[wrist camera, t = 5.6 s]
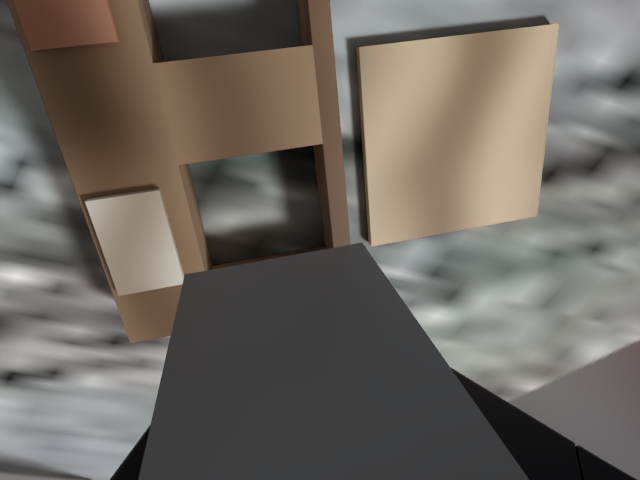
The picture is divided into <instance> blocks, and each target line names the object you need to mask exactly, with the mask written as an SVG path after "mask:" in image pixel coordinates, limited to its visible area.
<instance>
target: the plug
mask: <svg viewBox="0 0 640 480" xmlns="http://www.w3.org/2000/svg"><path fill="white" fill-rule="evenodd" d="M138 480H529V479H528V477H527V476H526V474H525V473H524V472H523V470H522V469H521V467H520V466H519V465H518V463H517V462H516V460H515V459H514V457H513V456H512V455H511V453H510V452H509V450H508V449H507V448H506V446H505V445H504V443H503V442H502V440H501V439H500V438H499V436H498V435H497V433H496V432H495V431H494V429H493V428H492V426H491V425H490V423H489V422H488V421H487V419H486V418H485V416H484V415H483V414H482V412H481V411H480V409H479V408H478V406H477V405H476V404H475V402H474V401H473V399H472V398H471V397H470V395H469V394H468V392H467V391H466V389H465V388H464V387H463V385H462V384H461V382H460V381H459V379H458V378H457V377H456V375H455V374H454V372H453V371H452V370H451V368H450V367H449V365H448V364H447V362H446V361H445V360H444V358H443V357H442V355H441V354H440V353H439V351H438V350H437V348H436V347H435V345H434V344H433V343H432V341H431V340H430V338H429V337H428V336H427V334H426V333H425V331H424V330H423V328H422V327H421V326H420V324H419V323H418V321H417V320H416V319H415V317H414V316H413V314H412V313H411V311H410V310H409V309H408V307H407V306H406V304H405V303H404V302H403V300H402V299H401V297H400V296H399V294H398V293H397V292H396V290H395V289H394V287H393V286H392V284H391V283H390V282H389V280H388V279H387V277H386V276H385V275H384V273H383V272H382V270H381V269H380V267H379V266H378V265H377V263H376V262H375V260H374V259H373V258H372V256H371V255H370V253H369V252H368V250H367V249H366V248H365V246H364V245H363V243H357V244H352V245H346V246H341V247H335V248H329V249H324V250H318V251H313V252H307V253H302V254H296V255H290V256H285V257H279V258H274V259H268V260H263V261H257V262H251V263H246V264H240V265H235V266H229V267H224V268H218V269H212V270H207V271H201V272H196V273H190V274H185V275H184V279H183V284H182V288H181V293H180V297H179V302H178V306H177V310H176V315H175V319H174V324H173V328H172V333H171V337H170V342H169V346H168V350H167V355H166V359H165V364H164V368H163V373H162V377H161V381H160V386H159V390H158V395H157V399H156V404H155V408H154V413H153V417H152V421H151V426H150V430H149V435H148V439H147V444H146V448H145V452H144V457H143V461H142V466H141V470H140V475H139V479H138Z"/></svg>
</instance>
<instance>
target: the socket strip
mask: <svg viewBox="0 0 640 480" xmlns="http://www.w3.org/2000/svg"><path fill="white" fill-rule="evenodd" d="M7 3H8V6H9V9H10V11H11V14H12V17H13V20H14V22H15V25H16V28H17V31H18V33H19V36H20V39H21V42H22V45H23V47H24V50H25V53H26V56H27V58H28V61H29V64H30V67H31V69H32V72H33V75H34V78H35V80H36V83H37V86H38V89H39V92H40V94H41V97H42V100H43V103H44V105H45V108H46V111H47V114H48V116H49V119H50V122H51V125H52V127H53V130H54V133H55V136H56V139H57V141H58V144H59V147H60V150H61V152H62V155H63V158H64V161H65V163H66V166H67V169H68V172H69V174H70V177H71V180H72V183H73V186H74V188H75V191H76V194H77V197H78V199H79V202H80V205H81V208H82V210H83V213H84V216H85V219H86V221H87V224H88V227H89V230H90V233H91V235H92V238H93V241H94V244H95V246H96V249H97V252H98V255H99V257H100V260H101V263H102V266H103V268H104V271H105V274H106V277H107V280H108V282H109V285H110V288H111V291H112V293H113V296H114V299H115V302H116V304H117V307H118V310H119V313H120V315H121V318H122V321H123V324H124V326H125V329H126V332H127V335H128V338H129V340H130V343H135V342H140V341H145V340H150V339H155V338H160V337H165V336H170V335H171V333H172V328H173V324H174V319H175V315H176V310H177V306H178V302H179V297H180V293H181V288H182V284H183V279H184V275H185V274H190V273H196V272H201V271H207V270H212V269H218V268H224V267H229V266H235V265H240V264H246V263H251V262H257V261H263V260H268V259H274V258H279V257H285V256H290V255H296V254H302V253H307V252H313V251H318V250H324V249H329V248H335V247H341V246H346V245H350V233H349V221H348V210H347V198H346V186H345V174H344V163H343V151H342V139H341V127H340V116H339V104H338V92H337V80H336V69H335V57H334V45H333V34H332V22H331V10H330V0H297V7H298V16H299V24H300V33H301V42H302V46H299V47H291V48H282V49H273V50H265V51H256V52H247V53H239V54H230V55H221V56H213V57H204V58H195V59H187V60H178V61H170V62H163V58H162V54H161V49H160V45H159V41H158V37H157V33H156V29H155V24H154V20H153V16H152V12H151V8H150V4H149V0H7ZM312 145H313V148H314V157H315V166H316V174H317V183H318V192H319V201H320V210H321V219H322V227H323V236H324V245H325V246H321V247H315V248H310V249H304V250H298V251H293V252H287V253H282V254H276V255H271V256H265V257H260V258H254V259H248V260H243V261H237V262H232V263H226V264H221V265H215V266H212V262H211V258H210V254H209V249H208V245H207V241H206V237H205V233H204V229H203V224H202V220H201V216H200V212H199V208H198V204H197V199H196V195H195V191H194V187H193V183H192V179H191V174H190V170H189V166H188V164H190V163H196V162H203V161H210V160H217V159H224V158H230V157H237V156H244V155H251V154H258V153H264V152H271V151H278V150H285V149H291V148H298V147H305V146H312Z"/></svg>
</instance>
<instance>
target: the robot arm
mask: <svg viewBox="0 0 640 480" xmlns="http://www.w3.org/2000/svg"><path fill="white" fill-rule="evenodd" d="M450 368H451V367H450ZM451 370H452V371H453V372H454V374H455V375H456V377H457V378H458V379H459V381H460V382H461V384H462V385H463V387H464V388H465V389H466V391H467V392H468V394H469V395H470V397H471V398H472V399H473V401H474V402H475V404H476V405H477V406H478V408H479V409H480V411H481V412H482V414H483V415H484V416H485V418H486V419H487V421H488V422H489V423H490V425H491V426H492V428H493V429H494V431H495V432H496V433H497V435H498V436H499V438H500V439H501V440H502V442H503V443H504V445H505V446H506V448H507V449H508V450H509V452H510V453H511V455H512V456H513V457H514V459H515V460H516V462H517V463H518V465H519V466H520V467H521V469H522V470H523V472H524V473H525V474H526V476H527V477H528V479H529V480H637V479H635V478H633V477H632V476H630V475H628V474H627V473H625V472H623V471H622V470H620V469H618V468H616V467H615V466H613V465H611V464H609V463H608V462H606V461H604V460H603V459H601V458H599V457H598V456H596V455H594V454H593V453H591V452H589V451H588V450H586V449H584V448H583V447H581V446H579V445H577V446H576V447H575V443H574V442H573V441H571V440H569V439H568V438H566V437H564V436H563V435H561V434H559V433H558V432H556V431H554V430H553V429H551V428H549V427H548V426H546V425H545V424H543V423H541V422H540V421H538V420H536V419H535V418H533V417H531V416H530V415H528V414H526V413H525V412H523V411H521V410H520V409H518V408H517V407H515V406H513V405H512V404H510V403H508V402H507V401H505V400H503V399H502V398H500V397H498V396H497V395H495V394H493V393H492V392H490V391H488V390H487V389H485V388H484V387H482V386H480V385H479V384H477V383H475V382H474V381H472V380H470V379H469V378H467V377H465V376H464V375H462V374H460V373H459V372H457V371H456V370H454V369H452V368H451ZM150 426H151V425H150ZM150 426H149V428H148V429H147V430H146V432H145V433H144V434H143V436H142V437H141V438H140V440H139V441H138V442H137V444H136V445H135V446H134V448H133V449H132V450H131V452H130V453H129V454H128V456H127V457H126V459H125V460H124V461H123V463H122V464H121V465H120V467H119V468H118V469H117V471H116V472H115V473H114V475H113V476H112V477H111V479H110V480H138V479H139V475H140V470H141V466H142V461H143V457H144V452H145V448H146V444H147V439H148V435H149V430H150Z"/></svg>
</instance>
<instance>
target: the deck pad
mask: <svg viewBox="0 0 640 480" xmlns="http://www.w3.org/2000/svg"><path fill="white" fill-rule="evenodd" d="M558 29H559V23H558V24H549V25H541V26H533V27H524V28H516V29H507V30H499V31H490V32H482V33H473V34H465V35H456V36H448V37H439V38H431V39H422V40H414V41H405V42H397V43H389V44H380V45H372V46H363V47H356V58H357V73H358V89H359V104H360V119H361V134H362V150H363V165H364V180H365V196H366V211H367V226H368V241H369V244H370V245H371V246H377V245H382V244H388V243H393V242H398V241H404V240H409V239H415V238H420V237H426V236H431V235H437V234H442V233H448V232H453V231H459V230H464V229H470V228H475V227H481V226H486V225H492V224H497V223H503V222H508V221H514V220H519V219H524V218H530V217H535V216H537V214H538V205H539V196H540V187H541V179H542V170H543V161H544V152H545V143H546V135H547V126H548V117H549V108H550V99H551V91H552V82H553V73H554V64H555V55H556V47H557V38H558Z"/></svg>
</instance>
